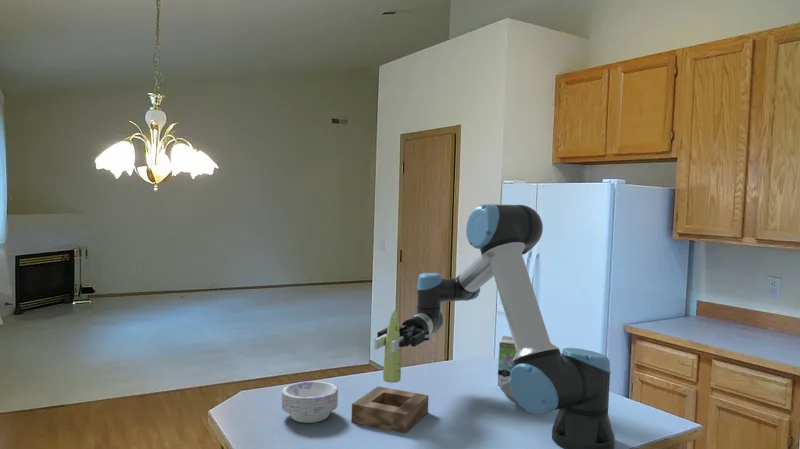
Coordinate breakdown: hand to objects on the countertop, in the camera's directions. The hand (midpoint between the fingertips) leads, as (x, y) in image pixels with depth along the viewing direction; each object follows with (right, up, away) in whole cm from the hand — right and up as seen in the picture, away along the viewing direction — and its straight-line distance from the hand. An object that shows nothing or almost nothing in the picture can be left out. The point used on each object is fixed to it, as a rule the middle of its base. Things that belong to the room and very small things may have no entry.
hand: (384, 345), depth 147 cm
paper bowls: (-21, -21, +4) cm, 30 cm away
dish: (+41, -22, +17) cm, 50 cm away
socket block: (+2, -21, +6) cm, 22 cm away
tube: (+2, -11, +5) cm, 12 cm away
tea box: (+45, -21, +37) cm, 62 cm away
